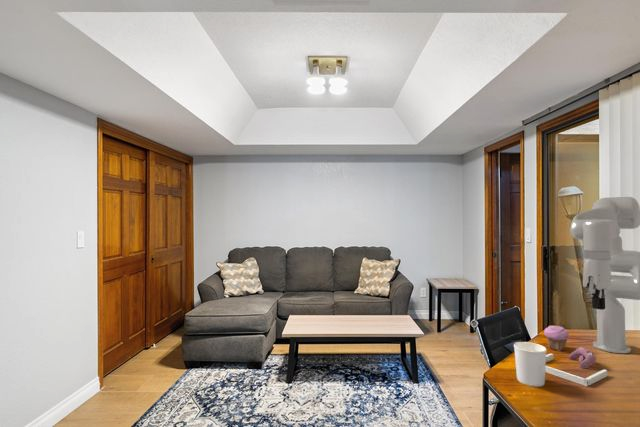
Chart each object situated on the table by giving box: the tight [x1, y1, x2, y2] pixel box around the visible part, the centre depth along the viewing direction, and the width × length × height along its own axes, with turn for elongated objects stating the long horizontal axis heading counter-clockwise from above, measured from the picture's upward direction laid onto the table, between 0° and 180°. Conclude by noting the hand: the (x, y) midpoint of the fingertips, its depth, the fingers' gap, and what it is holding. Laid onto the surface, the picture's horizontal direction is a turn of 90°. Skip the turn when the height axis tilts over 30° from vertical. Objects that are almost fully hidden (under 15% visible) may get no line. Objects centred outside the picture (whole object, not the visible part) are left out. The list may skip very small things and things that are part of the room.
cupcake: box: [543, 325, 570, 352], centre depth 153 cm, size 9×9×10 cm
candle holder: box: [513, 341, 547, 388], centre depth 124 cm, size 10×10×12 cm
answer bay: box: [545, 353, 608, 387], centre depth 131 cm, size 15×19×2 cm
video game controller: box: [568, 346, 597, 369], centre depth 137 cm, size 10×5×7 cm, turn 169°
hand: (598, 308), depth 123 cm, fingers closed
